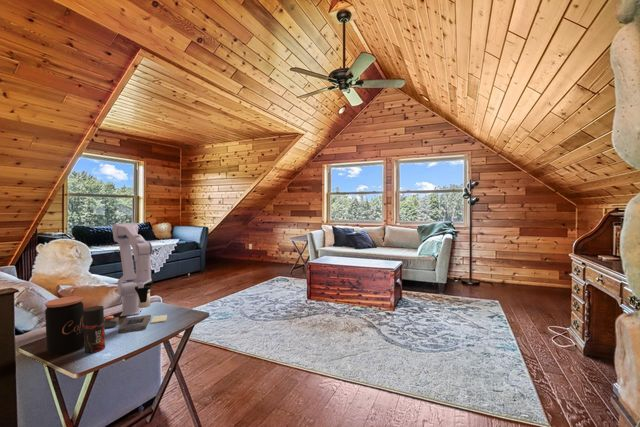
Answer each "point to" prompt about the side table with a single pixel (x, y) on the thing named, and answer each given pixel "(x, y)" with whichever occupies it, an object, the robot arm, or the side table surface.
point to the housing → (126, 327)
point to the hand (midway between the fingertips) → (144, 300)
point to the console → (111, 323)
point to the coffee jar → (64, 325)
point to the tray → (159, 319)
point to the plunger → (109, 318)
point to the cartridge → (144, 304)
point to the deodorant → (94, 329)
